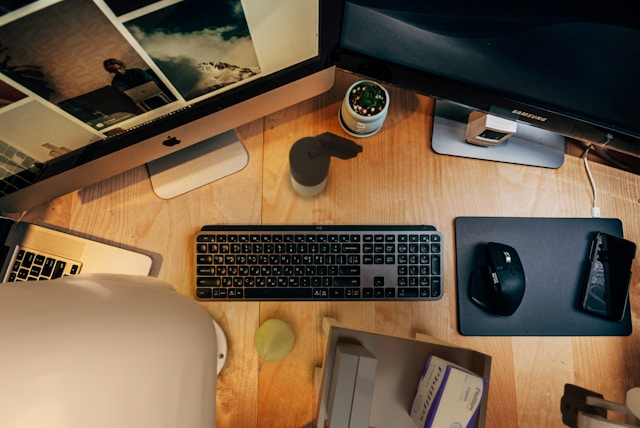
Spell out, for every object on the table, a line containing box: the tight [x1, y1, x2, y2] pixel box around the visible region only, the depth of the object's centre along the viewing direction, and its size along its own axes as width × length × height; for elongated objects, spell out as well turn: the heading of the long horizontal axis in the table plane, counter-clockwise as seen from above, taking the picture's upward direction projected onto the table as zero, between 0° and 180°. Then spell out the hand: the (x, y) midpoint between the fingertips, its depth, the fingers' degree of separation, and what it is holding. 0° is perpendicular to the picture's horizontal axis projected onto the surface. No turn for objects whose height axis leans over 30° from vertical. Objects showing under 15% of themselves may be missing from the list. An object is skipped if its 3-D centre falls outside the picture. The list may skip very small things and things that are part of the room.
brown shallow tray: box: [315, 326, 493, 428], centre depth 53 cm, size 19×11×5 cm, turn 80°
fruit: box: [253, 318, 297, 374], centre depth 71 cm, size 7×8×12 cm
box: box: [408, 355, 488, 428], centre depth 50 cm, size 8×4×9 cm, turn 157°
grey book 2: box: [348, 344, 378, 428], centre depth 49 cm, size 2×8×10 cm, turn 170°
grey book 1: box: [326, 342, 359, 428], centre depth 49 cm, size 2×8×10 cm, turn 171°
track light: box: [288, 131, 364, 197], centre depth 72 cm, size 6×17×20 cm
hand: (625, 413), depth 36 cm, fingers open, 9 cm apart
